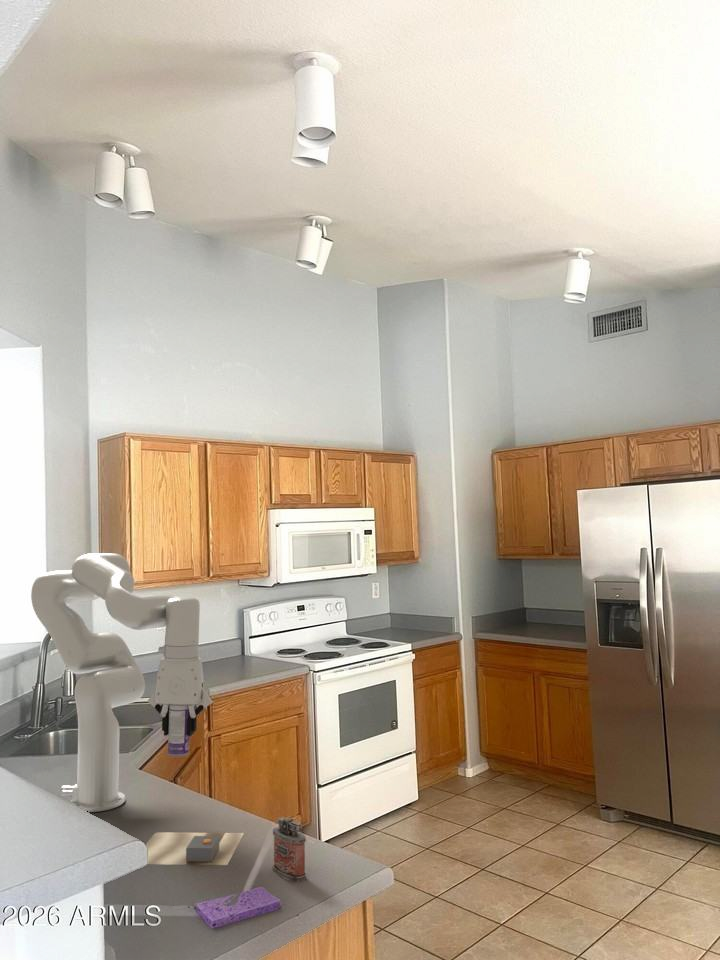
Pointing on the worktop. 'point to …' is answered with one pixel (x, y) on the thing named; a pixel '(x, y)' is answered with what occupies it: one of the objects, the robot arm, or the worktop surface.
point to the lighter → (289, 850)
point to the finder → (202, 849)
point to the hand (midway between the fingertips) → (179, 733)
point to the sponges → (237, 907)
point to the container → (178, 730)
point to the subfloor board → (173, 847)
